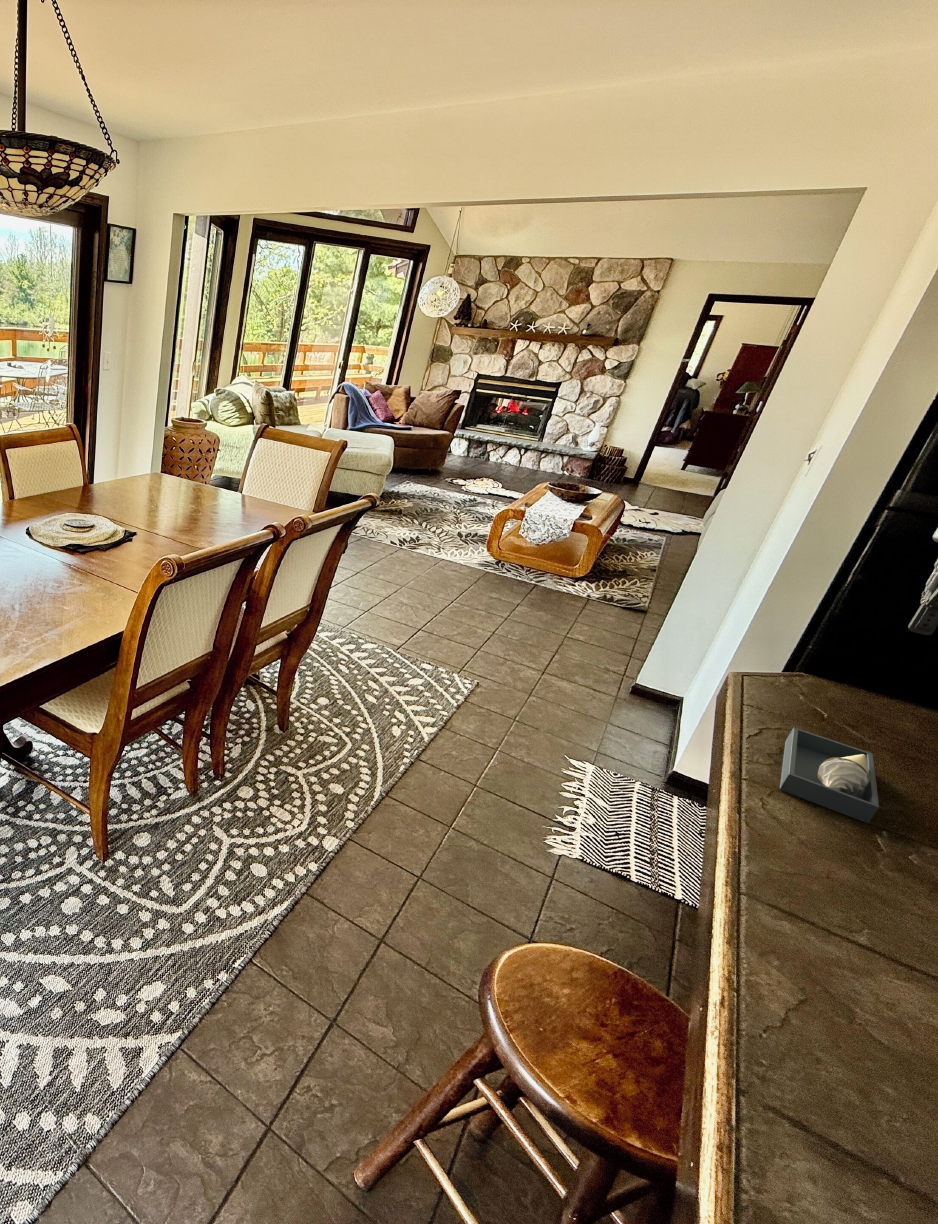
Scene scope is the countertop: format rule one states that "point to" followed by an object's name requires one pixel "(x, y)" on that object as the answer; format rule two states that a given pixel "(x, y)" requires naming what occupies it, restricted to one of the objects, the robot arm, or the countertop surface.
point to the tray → (803, 781)
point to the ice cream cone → (845, 773)
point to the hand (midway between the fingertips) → (918, 632)
